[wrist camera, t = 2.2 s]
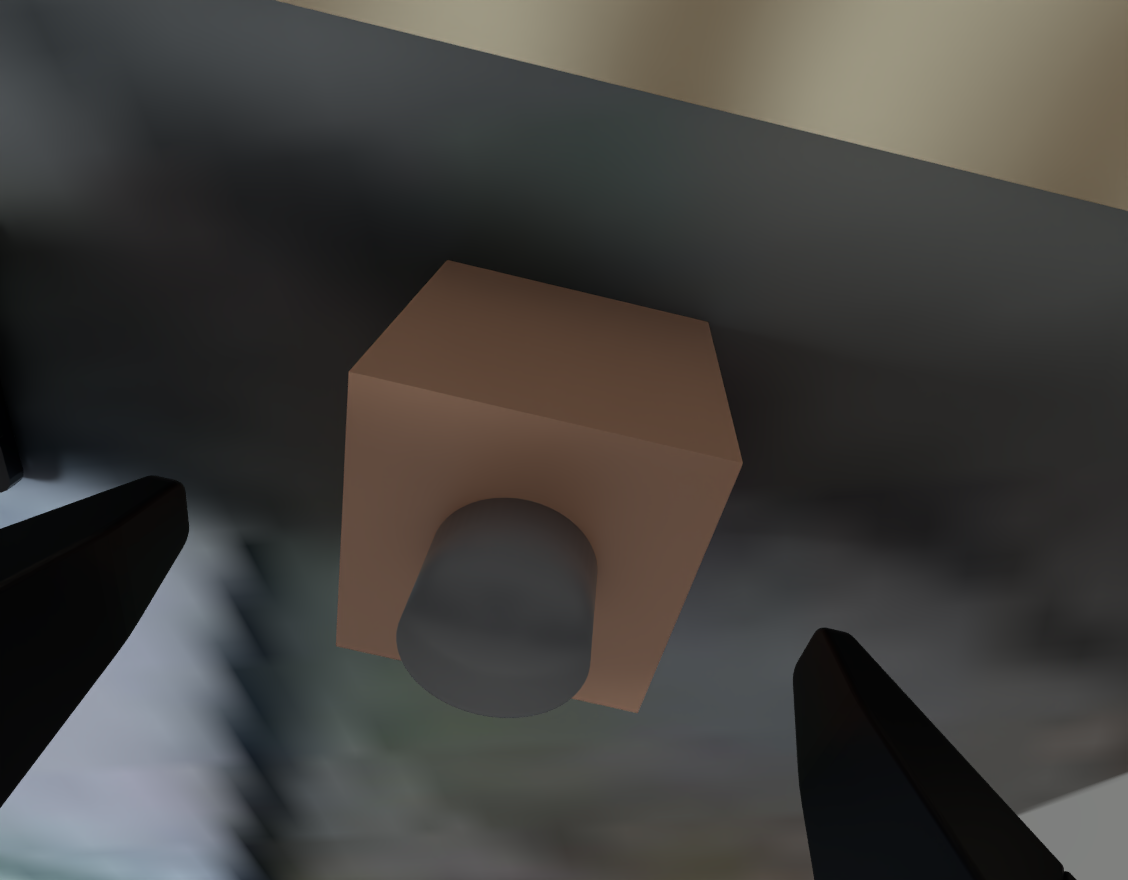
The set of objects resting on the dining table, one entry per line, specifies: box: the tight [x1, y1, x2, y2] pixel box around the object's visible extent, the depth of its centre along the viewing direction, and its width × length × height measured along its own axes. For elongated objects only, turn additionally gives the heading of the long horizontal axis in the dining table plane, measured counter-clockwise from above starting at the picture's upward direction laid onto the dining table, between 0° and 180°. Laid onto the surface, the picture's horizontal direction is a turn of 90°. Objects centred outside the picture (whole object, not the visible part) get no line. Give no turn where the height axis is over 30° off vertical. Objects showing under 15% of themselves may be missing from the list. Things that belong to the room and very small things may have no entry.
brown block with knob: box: [336, 260, 743, 718], centre depth 11 cm, size 5×5×7 cm
